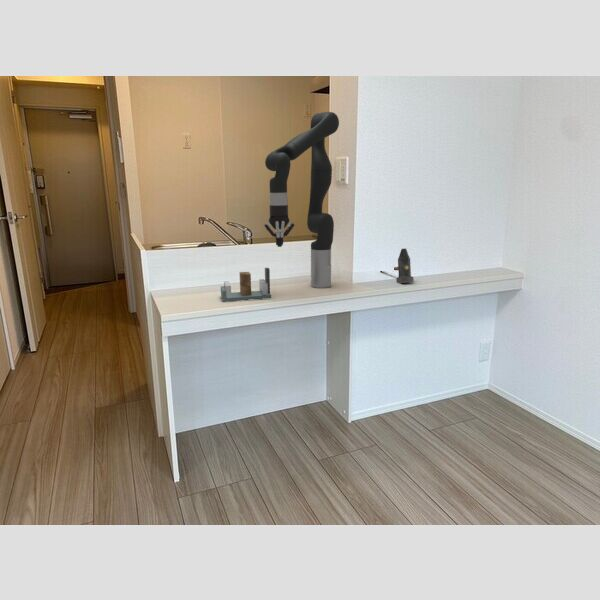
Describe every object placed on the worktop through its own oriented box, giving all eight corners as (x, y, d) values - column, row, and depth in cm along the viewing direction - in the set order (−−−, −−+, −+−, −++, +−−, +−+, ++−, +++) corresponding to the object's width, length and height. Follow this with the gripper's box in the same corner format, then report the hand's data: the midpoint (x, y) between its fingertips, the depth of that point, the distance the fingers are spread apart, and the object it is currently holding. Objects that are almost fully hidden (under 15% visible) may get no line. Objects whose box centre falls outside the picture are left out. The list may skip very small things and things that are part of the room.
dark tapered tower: (385, 252, 246) (412, 247, 217) (387, 282, 247) (413, 282, 218) (375, 253, 245) (400, 248, 216) (376, 283, 245) (402, 282, 216)
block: (249, 292, 198) (249, 271, 196) (251, 295, 193) (250, 274, 191) (240, 293, 197) (239, 272, 195) (241, 295, 192) (240, 274, 190)
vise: (267, 293, 202) (267, 278, 201) (271, 298, 194) (271, 283, 192) (221, 296, 198) (220, 281, 196) (223, 302, 189) (222, 286, 187)
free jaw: (267, 289, 202) (266, 266, 199) (271, 294, 193) (270, 270, 191) (259, 290, 201) (258, 266, 198) (263, 295, 193) (262, 270, 190)
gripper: (264, 205, 185) (265, 248, 189) (296, 204, 188) (297, 247, 192) (261, 204, 192) (262, 246, 196) (292, 203, 195) (293, 244, 199)
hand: (279, 246), depth 194 cm, fingers closed
